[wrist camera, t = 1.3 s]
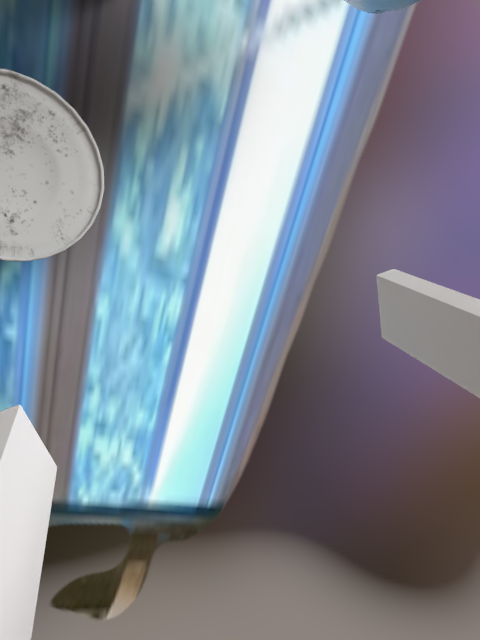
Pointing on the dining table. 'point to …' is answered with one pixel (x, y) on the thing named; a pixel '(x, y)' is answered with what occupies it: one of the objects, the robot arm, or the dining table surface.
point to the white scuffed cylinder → (44, 171)
